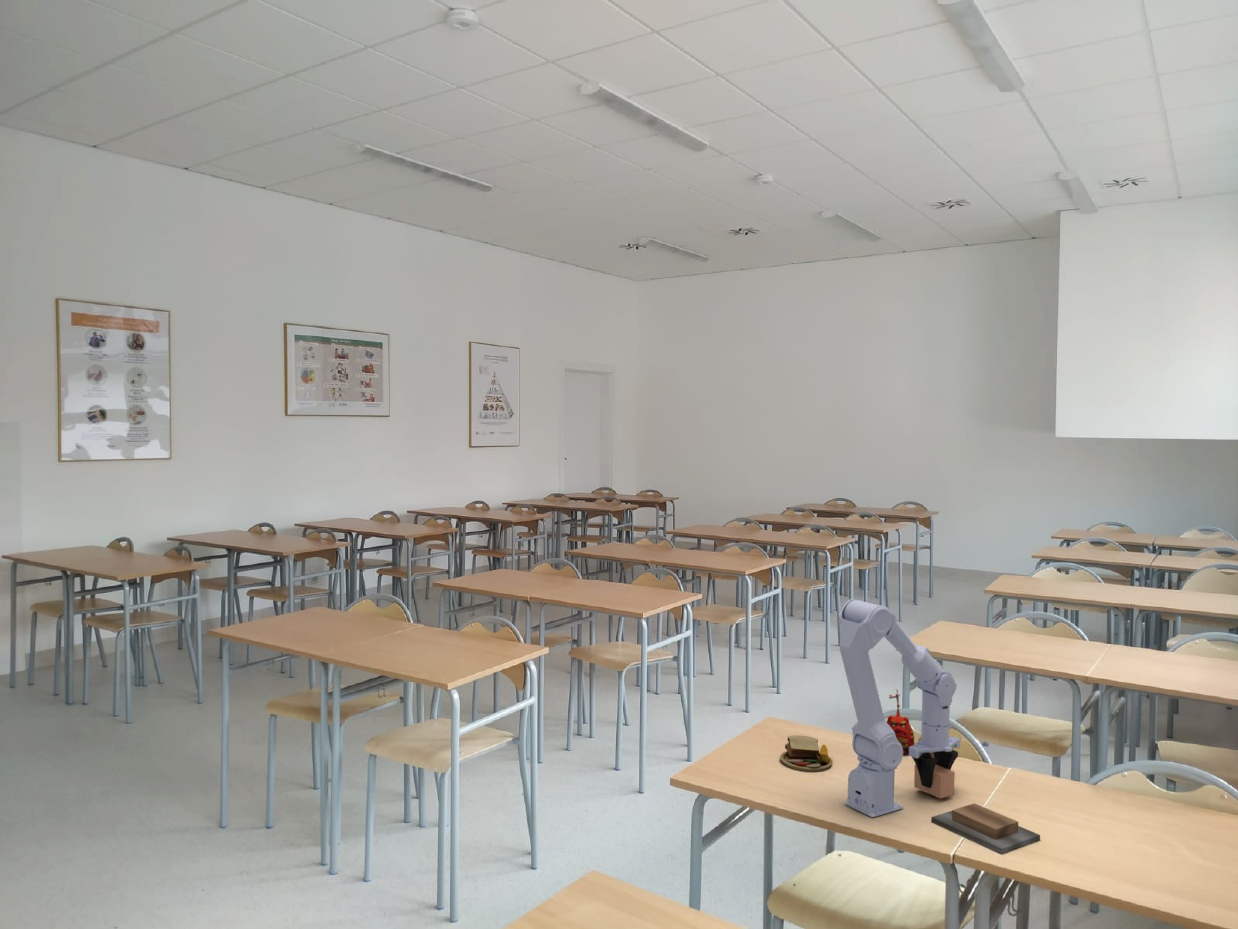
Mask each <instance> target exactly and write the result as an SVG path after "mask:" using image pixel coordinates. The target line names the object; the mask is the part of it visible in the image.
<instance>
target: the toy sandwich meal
mask: <svg viewBox="0 0 1238 929" xmlns="http://www.w3.org/2000/svg"><path fill="white" fill-rule="evenodd" d="M818 739H819V738H817V737H813V736H808V735H799V734H798V735H795V734H794V735H789V736H787V741H788V743H785V745H784V749H785V750H786V751H784V752H782V753H781V754H780V756H779V759H780V760H781V762H782V763H783V764H784V765H785V766H787V767H789V768H791V769H794V770H797V771H804V772H820V771H825V770H826V769H828V768H830V767H831V766H832V764H833V759H832V758H831V757H830V756H829V751H828V748H827V745H826V744H822V745H821V747H820V748H819V744H818V741H819V740H818Z"/></svg>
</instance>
